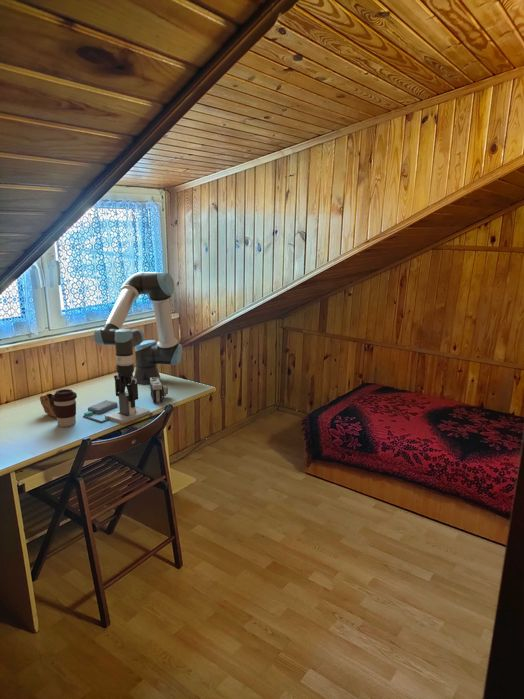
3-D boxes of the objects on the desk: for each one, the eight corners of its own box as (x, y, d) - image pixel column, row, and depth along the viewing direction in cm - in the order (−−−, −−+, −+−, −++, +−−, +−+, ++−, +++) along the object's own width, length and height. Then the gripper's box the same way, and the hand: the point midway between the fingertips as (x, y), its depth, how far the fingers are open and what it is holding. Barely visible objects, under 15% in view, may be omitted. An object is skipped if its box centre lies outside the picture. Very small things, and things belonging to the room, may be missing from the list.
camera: (170, 402, 233) (169, 383, 230) (153, 403, 230) (152, 384, 228) (166, 393, 245) (165, 375, 243) (150, 395, 243) (149, 376, 240)
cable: (90, 413, 216) (90, 410, 215) (109, 419, 209) (109, 416, 208) (82, 416, 212) (81, 413, 211) (101, 423, 205) (101, 420, 204)
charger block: (128, 411, 217) (127, 390, 215) (135, 413, 214) (134, 392, 212) (119, 414, 213) (118, 393, 210) (127, 417, 210) (126, 395, 208)
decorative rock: (39, 415, 213) (37, 392, 211) (51, 411, 218) (49, 389, 216) (58, 419, 208) (56, 397, 205) (69, 415, 213) (67, 393, 211)
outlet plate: (132, 408, 223) (132, 405, 223) (150, 413, 217) (149, 410, 217) (105, 418, 210) (104, 415, 210) (123, 424, 204) (122, 420, 204)
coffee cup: (79, 418, 209) (76, 387, 206) (78, 426, 200) (76, 393, 197) (55, 421, 206) (52, 389, 203) (53, 429, 197) (50, 396, 194)
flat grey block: (106, 404, 229) (106, 399, 228) (117, 407, 226) (117, 402, 225) (88, 412, 218) (87, 407, 217) (99, 415, 215) (99, 409, 215)
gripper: (104, 362, 210) (108, 411, 215) (132, 368, 200) (135, 419, 206) (118, 359, 216) (121, 406, 221) (145, 365, 206) (147, 414, 212)
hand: (127, 412), depth 213 cm, fingers closed on charger block, 5 cm apart
